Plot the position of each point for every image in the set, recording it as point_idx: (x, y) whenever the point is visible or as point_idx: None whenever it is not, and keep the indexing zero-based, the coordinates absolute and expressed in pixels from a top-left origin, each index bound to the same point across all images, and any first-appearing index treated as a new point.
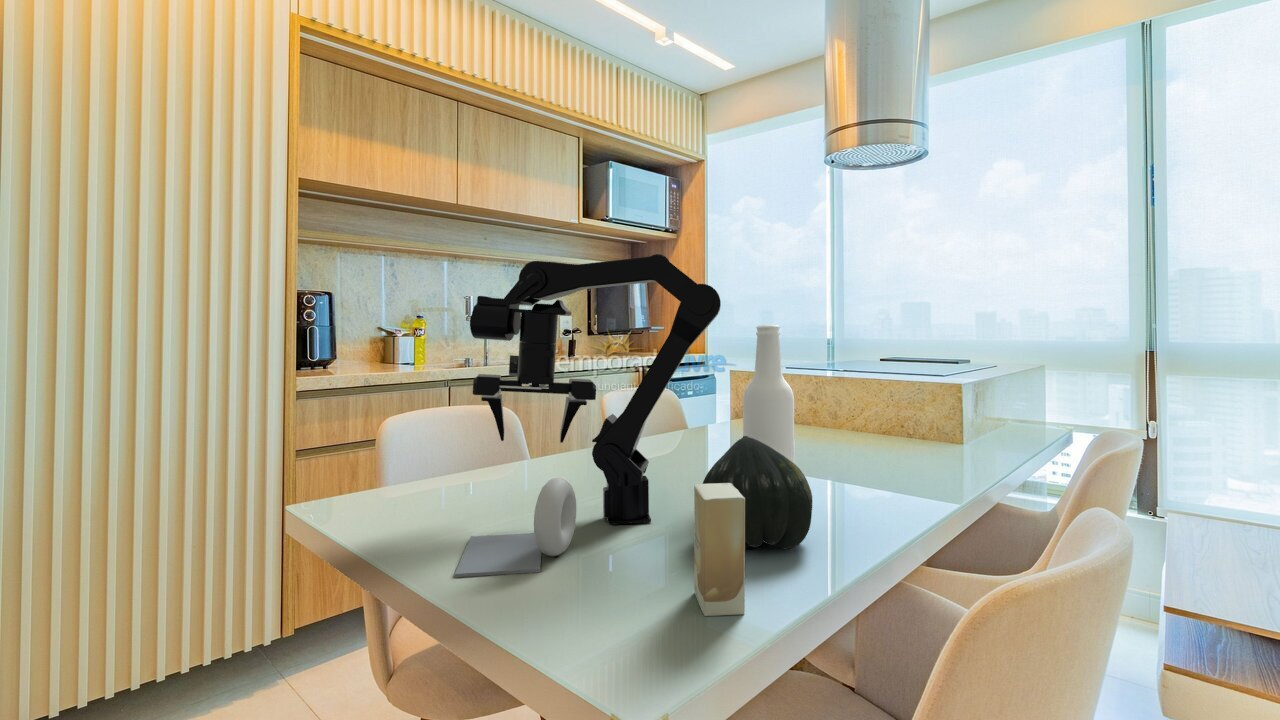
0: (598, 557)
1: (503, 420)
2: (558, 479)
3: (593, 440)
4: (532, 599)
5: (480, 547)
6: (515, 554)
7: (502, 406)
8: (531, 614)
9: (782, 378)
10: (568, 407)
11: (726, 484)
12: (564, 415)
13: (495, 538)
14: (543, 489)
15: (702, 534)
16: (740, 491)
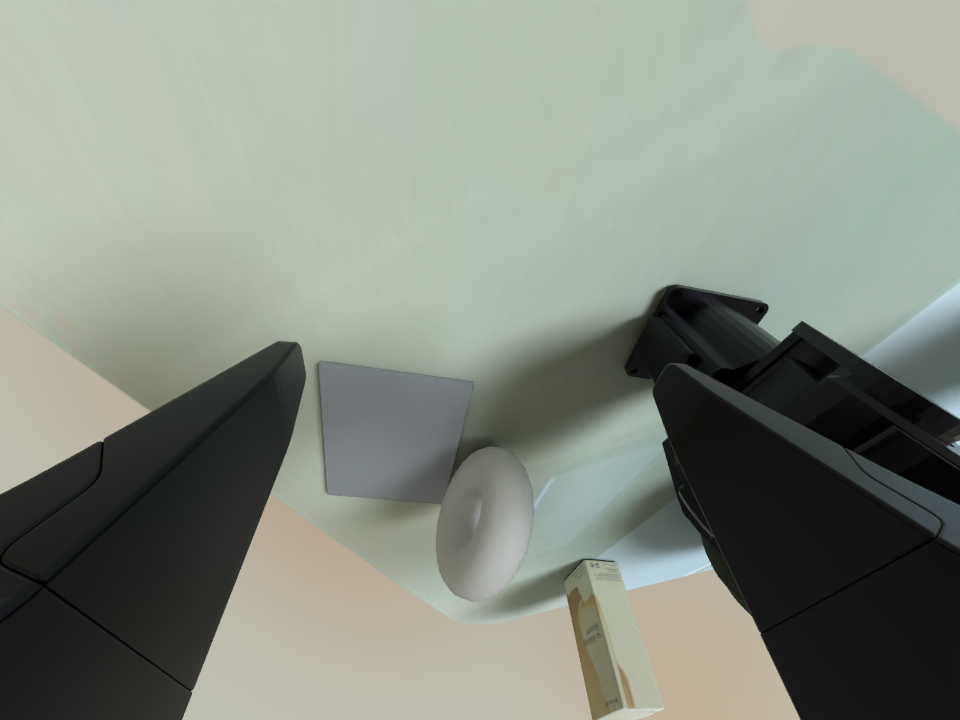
0: (532, 481)
1: (223, 465)
2: (490, 597)
3: (715, 545)
4: (427, 542)
5: (349, 422)
6: (412, 461)
7: (41, 619)
8: (423, 559)
9: None
10: (797, 704)
11: (653, 712)
12: (788, 559)
13: (374, 390)
14: (454, 591)
15: (584, 666)
16: (751, 615)
